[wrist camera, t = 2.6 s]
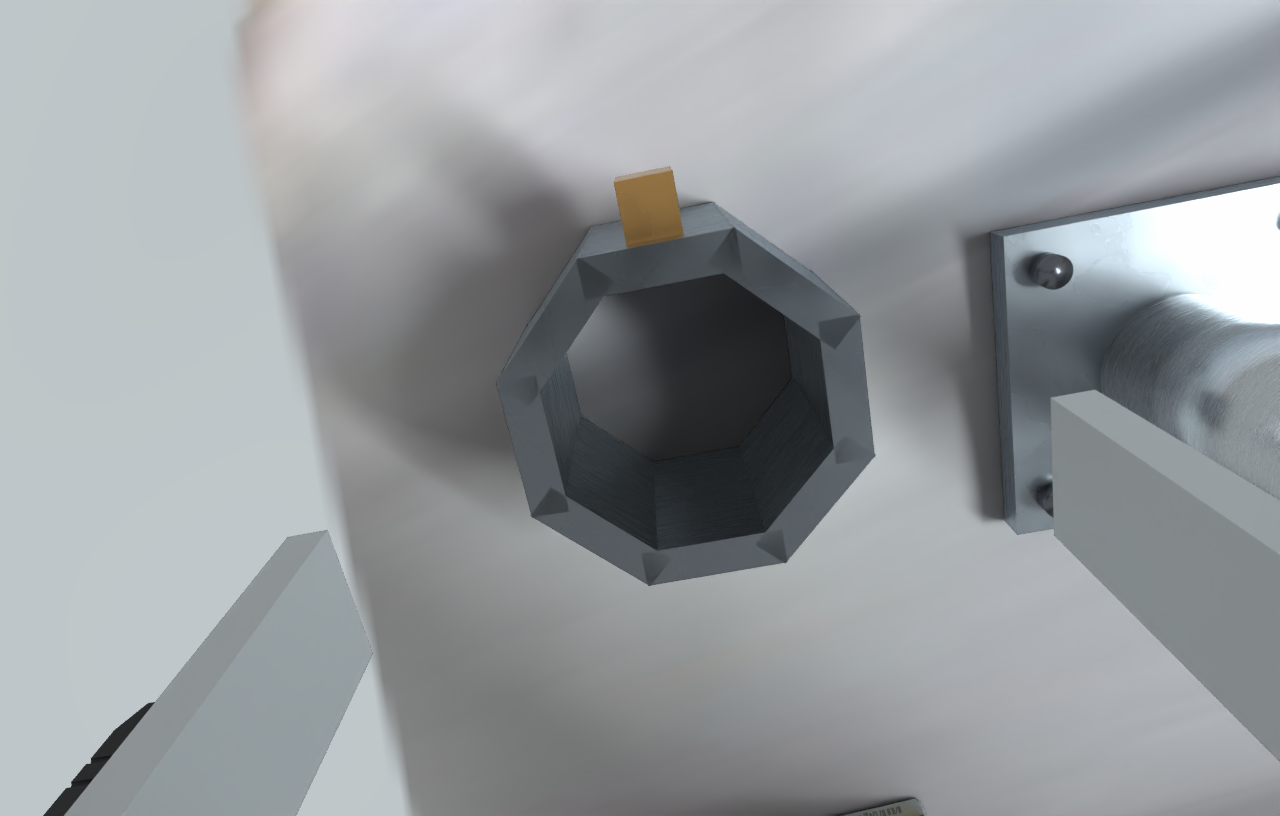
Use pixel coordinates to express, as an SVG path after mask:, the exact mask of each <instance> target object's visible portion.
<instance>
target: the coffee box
mask: <svg viewBox="0 0 1280 816" xmlns="http://www.w3.org/2000/svg"><path fill="white" fill-rule="evenodd" d="M842 816H926V813H925V810H924V807H923V805H922V803H921V802H920V801H919V800H916V799H911V800H907V801H902V802H898V803H894V804H890V805H886V806H881V807H877V808H873V809H868V810H864V811H860V812H855V813H851V814H846V815H842Z"/></svg>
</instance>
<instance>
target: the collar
mask: <svg viewBox="0 0 1280 816" xmlns="http://www.w3.org/2000/svg"><path fill="white" fill-rule="evenodd" d="M614 186H615V191H616V196H617V201H618V206H619V211H620V216H621V220H620V221H615V222H610V223H605V224H600V225H595V226H593V225H592V226H590V229H589V231H588V232H587V234H586V236H585V237H584V239H583V240H582V242H581V243H580V245H579V246H578V248H577V250H576V251H575V253H574V254H573V256H572V257H571V259H570V260H569V262H568V264H567V265H566V267H565V268H564V270H563V271H562V273H561V274H560V276H559V278H558V279H557V281H556V282H555V284H554V285H553V287H552V288H551V290H550V292H549V293H548V295H547V296H546V298H545V299H544V301H543V302H542V304H541V306H540V307H539V309H538V310H537V312H536V313H535V315H534V316H533V318H532V320H531V321H530V323H529V324H527V326H526V328H525V330H524V332H523V334H522V336H521V337H520V339H519V341H518V343H517V345H516V347H515V349H514V350H513V352H512V354H511V356H510V358H509V360H508V362H507V363H506V365H505V367H504V369H503V371H502V373H501V375H500V376H499V378H498V380H497V382H496V386H497V388H498V392H499V395H500V399H501V403H502V407H503V410H504V414H505V418H506V422H507V425H508V429H509V433H510V437H511V440H512V444H513V448H514V451H515V455H516V459H517V463H518V466H519V470H520V474H521V478H522V481H523V485H524V489H525V493H526V496H527V500H528V504H529V508H530V511H531V516H532V518H535V519H537V520H538V521H540V522H542V523H543V524H545V525H547V526H549V527H550V528H552V529H554V530H555V531H557V532H559V533H561V534H562V535H564V536H566V537H567V538H569V539H571V540H572V541H574V542H576V543H578V544H579V545H581V546H583V547H584V548H586V549H588V550H589V551H591V552H593V553H595V554H596V555H598V556H600V557H601V558H603V559H605V560H607V561H608V562H610V563H612V564H613V565H615V566H617V567H618V568H620V569H622V570H624V571H625V572H627V573H629V574H630V575H632V576H634V577H636V578H637V579H639V580H641V581H642V582H644V583H646V584H647V585H648V586H651V585H656V584H662V583H667V582H673V581H679V580H685V579H691V578H697V577H703V576H709V575H715V574H721V573H726V572H732V571H738V570H744V569H750V568H756V567H762V566H768V565H774V564H779V563H786V562H787V561H788V559H789V558H790V557H791V556H792V555H793V553H794V552H795V551H796V550H797V549H798V547H799V546H800V545H801V544H802V543H803V541H804V540H805V539H806V538H807V537H808V536H809V534H810V533H811V532H812V531H813V530H814V528H815V527H816V526H817V525H818V524H819V522H820V521H821V520H822V519H823V518H824V516H825V515H826V514H827V513H828V512H829V510H830V509H831V508H832V507H833V506H834V504H835V503H836V502H837V501H838V500H839V498H840V497H841V496H842V495H843V494H844V492H845V491H846V490H847V489H848V488H849V486H850V485H851V484H852V483H853V482H854V480H855V479H856V478H857V477H858V476H859V474H860V473H861V472H862V471H863V470H864V468H865V467H866V466H867V465H868V464H869V462H870V461H871V460H872V459H873V458H874V457H875V453H874V445H873V436H872V426H871V417H870V408H869V398H868V389H867V380H866V371H865V361H864V352H863V343H862V333H861V324H860V317H861V316H860V315H859V313H857V312H856V311H855V310H854V309H853V308H852V307H851V306H850V305H849V304H848V303H846V302H845V301H844V300H843V299H842V298H841V297H840V296H839V295H838V294H837V293H835V292H834V291H833V290H832V289H831V288H830V287H829V286H828V285H827V284H826V283H824V282H823V281H822V280H821V279H820V278H819V277H818V276H817V275H816V274H814V273H813V272H812V271H811V270H809V269H807V268H806V267H804V266H803V265H801V264H800V263H799V262H797V261H796V260H794V259H793V258H792V257H790V256H789V255H787V254H786V253H784V252H783V251H782V250H780V249H779V248H777V247H776V246H775V245H773V244H772V243H770V242H769V241H767V240H766V239H765V238H763V237H762V236H760V235H759V234H758V233H756V232H755V231H753V230H752V229H750V228H749V227H748V226H746V225H745V224H743V223H742V222H740V221H739V220H738V219H736V218H735V217H733V216H732V215H731V214H729V213H728V212H726V211H725V210H723V209H722V208H721V207H719V206H718V205H716V204H715V202H711V203H705V204H700V205H695V206H690V207H685V208H680V209H679V205H678V199H677V193H676V188H675V182H674V176H673V171H672V169H671V167H670V166H669V167H664V168H659V169H654V170H649V171H644V172H639V173H634V174H629V175H624V176H619V177H616V178H615V180H614ZM723 273H724V274H725V275H727V276H728V277H730V278H731V279H733V280H734V281H735V282H737V283H738V284H740V285H741V286H743V287H744V288H746V289H747V290H749V291H750V292H751V293H753V294H754V295H756V296H757V297H759V298H760V299H762V300H763V301H765V302H766V303H767V304H769V305H770V306H772V307H773V308H775V309H776V310H778V311H779V312H781V313H782V314H784V319H785V327H786V334H787V341H788V348H789V355H790V362H791V370H792V377H793V378H792V379H791V380H790V381H789V383H788V384H787V385H786V387H785V388H784V389H783V391H782V392H781V393H780V394H779V396H778V397H777V398H776V400H775V401H774V402H773V403H772V405H771V406H770V407H769V409H768V410H767V411H766V413H765V414H764V415H763V416H762V418H761V419H760V420H759V422H758V423H757V424H756V426H755V427H754V428H753V429H752V431H751V432H750V433H749V435H748V436H747V437H746V439H745V440H744V441H743V442H742V444H741V445H740V446H738V447H732V448H727V449H721V450H716V451H710V452H704V453H699V454H693V455H688V456H682V457H677V458H671V459H665V460H660V461H652V460H651V459H649V458H647V457H646V456H644V455H643V454H641V453H639V452H638V451H636V450H635V449H633V448H631V447H630V446H628V445H626V444H625V443H623V442H622V441H620V440H618V439H617V438H615V437H614V436H612V435H610V434H609V433H607V432H606V431H604V430H602V429H601V428H599V427H598V426H596V425H594V424H593V423H591V422H589V421H588V420H586V419H585V418H583V417H581V413H580V409H579V405H578V400H577V396H576V392H575V388H574V383H573V379H572V375H571V371H570V366H569V362H568V358H567V353H566V352H567V350H568V349H569V347H570V346H571V344H572V343H573V341H574V340H575V338H576V337H577V335H578V334H579V332H580V331H581V329H582V328H583V326H584V325H585V323H586V322H587V320H588V319H589V317H590V316H591V314H592V313H593V311H594V310H595V308H596V307H597V305H598V304H599V302H600V301H601V299H602V298H603V297H604V296H609V295H614V294H620V293H625V292H630V291H635V290H640V289H645V288H651V287H656V286H661V285H666V284H671V283H676V282H682V281H687V280H692V279H697V278H702V277H707V276H713V275H718V274H723Z"/></svg>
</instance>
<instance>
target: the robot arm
mask: <svg viewBox="0 0 1280 816" xmlns="http://www.w3.org/2000/svg"><path fill="white" fill-rule="evenodd" d="M1051 433H1052V473H1053V514H1054V536H1055V537H1056V538H1057V539H1058V540H1059V541H1060V542H1061V543H1062V544H1063V545H1064V546H1065V547H1066V548H1067V549H1068V550H1069V551H1070V552H1071V553H1072V554H1073V555H1074V556H1075V557H1076V558H1077V559H1078V560H1079V561H1080V562H1081V563H1082V564H1083V565H1084V566H1085V567H1086V568H1087V569H1088V570H1089V571H1090V572H1091V573H1092V574H1093V575H1094V576H1095V577H1096V578H1097V579H1098V580H1099V581H1100V582H1101V583H1102V584H1103V585H1104V586H1105V587H1106V588H1107V589H1108V590H1109V591H1110V592H1111V593H1112V594H1113V595H1114V596H1115V597H1116V598H1117V599H1118V600H1119V601H1120V602H1121V603H1122V604H1123V605H1124V606H1125V607H1126V608H1127V609H1128V610H1129V611H1130V612H1131V613H1132V614H1133V615H1134V616H1135V617H1136V618H1137V619H1138V620H1139V621H1140V622H1141V623H1142V624H1143V625H1144V626H1145V627H1146V628H1147V629H1148V630H1149V631H1150V632H1151V633H1152V634H1153V635H1154V636H1155V637H1156V638H1157V639H1158V640H1159V641H1160V642H1161V643H1162V644H1163V645H1164V646H1165V647H1166V648H1167V649H1168V650H1169V651H1170V652H1171V653H1172V654H1173V655H1174V656H1175V657H1176V658H1177V659H1178V660H1179V661H1180V662H1181V663H1182V664H1183V665H1184V666H1185V667H1186V668H1187V669H1188V670H1189V671H1190V672H1191V673H1192V674H1193V675H1194V676H1195V677H1196V678H1197V679H1198V680H1199V681H1200V682H1201V683H1202V684H1203V685H1204V686H1205V687H1206V688H1207V689H1208V690H1209V691H1210V692H1211V693H1212V694H1213V695H1214V696H1215V697H1216V698H1217V699H1218V700H1219V701H1220V702H1221V703H1222V704H1223V705H1224V706H1225V707H1226V708H1227V709H1228V710H1229V711H1230V712H1231V713H1232V714H1233V715H1234V716H1235V717H1236V718H1237V719H1238V720H1239V721H1240V722H1241V723H1242V724H1243V725H1244V726H1245V727H1246V728H1247V729H1248V730H1249V731H1250V732H1251V733H1252V734H1253V735H1254V736H1255V737H1256V738H1257V739H1258V740H1259V741H1260V742H1261V743H1262V744H1263V745H1264V746H1265V747H1266V748H1267V749H1268V750H1269V751H1270V752H1271V753H1272V754H1273V755H1274V756H1275V757H1276V758H1277V759H1278V760H1279V761H1280V500H1278V499H1276V498H1275V497H1273V496H1271V495H1270V494H1268V493H1266V492H1265V491H1263V490H1261V489H1260V488H1258V487H1256V486H1255V485H1253V484H1251V483H1250V482H1248V481H1246V480H1245V479H1243V478H1241V477H1240V476H1238V475H1236V474H1235V473H1233V472H1231V471H1230V470H1228V469H1226V468H1225V467H1223V466H1221V465H1220V464H1218V463H1216V462H1215V461H1213V460H1211V459H1210V458H1208V457H1206V456H1205V455H1203V454H1201V453H1200V452H1198V451H1196V450H1195V449H1193V448H1191V447H1190V446H1188V445H1186V444H1185V443H1183V442H1181V441H1180V440H1178V439H1176V438H1175V437H1173V436H1172V435H1170V434H1168V433H1167V432H1165V431H1163V430H1162V429H1160V428H1158V427H1157V426H1155V425H1153V424H1152V423H1150V422H1148V421H1147V420H1145V419H1143V418H1142V417H1140V416H1138V415H1137V414H1135V413H1133V412H1132V411H1130V410H1128V409H1127V408H1125V407H1123V406H1122V405H1120V404H1118V403H1117V402H1115V401H1113V400H1112V399H1110V398H1108V397H1107V396H1105V395H1103V394H1102V393H1100V392H1098V391H1097V390H1090V391H1084V392H1079V393H1074V394H1068V395H1063V396H1057V397H1052V398H1051ZM372 654H373V652H372V650H371V647H370V644H369V641H368V639H367V636H366V633H365V631H364V628H363V625H362V622H361V620H360V617H359V614H358V612H357V609H356V606H355V603H354V601H353V598H352V595H351V593H350V590H349V587H348V584H347V582H346V579H345V576H344V574H343V571H342V568H341V565H340V563H339V560H338V557H337V554H336V552H335V549H334V546H333V544H332V541H331V538H330V535H329V533H328V530H325V531H319V532H314V533H309V534H303V535H297V536H292V537H288V538H287V539H286V540H285V541H284V542H283V543H282V545H281V546H280V547H279V549H278V550H277V551H276V552H275V553H274V555H273V556H272V557H271V559H270V560H269V561H268V562H267V563H266V565H265V566H264V567H263V568H262V570H261V571H260V572H259V573H258V575H257V576H256V577H255V578H254V580H253V581H252V582H251V584H250V585H249V586H248V587H247V588H246V590H245V591H244V592H243V593H242V595H241V596H240V597H239V598H238V600H237V601H236V602H235V603H234V605H233V606H232V607H231V608H230V610H229V611H228V612H227V613H226V614H225V616H224V617H223V618H222V619H221V621H220V622H219V623H218V624H217V626H216V627H215V628H214V629H213V631H212V632H211V633H210V634H209V636H208V637H207V638H206V639H205V641H204V642H203V643H202V644H201V646H200V647H199V648H198V649H197V651H196V652H195V653H194V654H193V656H192V657H191V658H190V659H189V661H188V662H187V663H186V664H185V666H184V667H183V668H182V669H181V671H180V672H179V673H178V674H177V676H176V677H175V678H174V679H173V681H172V682H171V683H170V684H169V685H168V687H167V688H166V689H165V690H164V692H163V693H162V694H161V696H160V697H159V698H158V699H157V700H156V702H153V703H148V704H147V705H145V706H144V707H143V708H142V709H140V710H139V711H138V712H137V713H135V714H134V715H133V716H132V717H130V718H129V719H128V720H127V721H125V722H124V723H123V724H122V725H120V726H119V727H118V728H117V729H115V730H114V731H113V733H112V734H111V735H110V736H109V737H108V739H107V740H106V741H105V742H104V743H103V745H102V746H101V747H100V748H99V749H98V751H97V752H96V753H95V754H94V755H93V757H92V758H91V764H86V765H85V766H84V767H83V769H82V770H81V771H80V772H79V773H78V775H77V776H76V777H75V778H74V779H73V781H72V782H71V783H72V786H71V788H66V789H65V790H64V791H63V793H62V794H61V795H60V796H59V797H58V799H57V800H56V801H55V802H54V803H53V805H52V806H51V807H50V808H49V809H48V811H47V812H46V813H45V814H44V815H43V816H296V815H297V813H298V811H299V808H300V806H301V804H302V802H303V800H304V798H305V795H306V794H307V791H308V789H309V787H310V785H311V783H312V781H313V779H314V777H315V775H316V772H317V770H318V768H319V766H320V764H321V762H322V760H323V758H324V756H325V753H326V751H327V749H328V747H329V745H330V743H331V741H332V739H333V737H334V735H335V732H336V730H337V728H338V726H339V724H340V722H341V720H342V718H343V715H344V713H345V711H346V709H347V707H348V705H349V703H350V701H351V699H352V697H353V694H354V692H355V690H356V688H357V686H358V684H359V682H360V680H361V678H362V675H363V673H364V671H365V669H366V667H367V665H368V663H369V661H370V659H371V656H372Z"/></svg>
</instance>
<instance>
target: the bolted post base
mask: <svg viewBox="0 0 1280 816" xmlns="http://www.w3.org/2000/svg"><path fill="white" fill-rule="evenodd" d="M990 244H991V263H992V283H993V302H994V322H995V341H996V361H997V380H998V400H999V419H1000V439H1001V458H1002V478H1003V497H1004V517H1005V522H1006V523H1007V524H1008V525H1009V526H1010V527H1011V528H1012V530H1013V531H1014V532H1015V533H1016V534H1017V535H1019V534H1025V533H1031V532H1037V531H1043V530H1049V529H1054V514H1053V473H1052V433H1051V398H1052V397H1057V396H1063V395H1068V394H1074V393H1079V392H1084V391H1090V390H1097V391H1098V392H1100V393H1102V394H1103V395H1105V396H1107V397H1108V398H1110V399H1112V400H1113V401H1115V402H1117V403H1118V404H1120V405H1122V406H1123V407H1125V408H1127V409H1128V410H1130V411H1132V412H1133V413H1135V414H1137V415H1138V416H1140V417H1142V418H1143V419H1145V420H1147V421H1148V422H1150V423H1152V424H1153V425H1155V426H1157V427H1158V428H1160V429H1162V430H1163V431H1165V432H1167V433H1168V434H1170V435H1172V436H1173V437H1175V438H1176V439H1178V440H1180V441H1181V442H1183V443H1185V444H1186V445H1188V446H1190V447H1191V448H1193V449H1195V450H1196V451H1198V452H1200V453H1201V454H1203V455H1205V456H1206V457H1208V458H1210V459H1211V460H1213V461H1215V462H1216V463H1218V464H1220V465H1221V466H1223V467H1225V468H1226V469H1228V470H1230V471H1231V472H1233V473H1235V474H1236V475H1238V476H1240V477H1241V478H1243V479H1245V480H1246V481H1248V482H1250V483H1251V484H1253V485H1255V486H1256V487H1258V488H1260V489H1261V490H1263V491H1265V492H1266V493H1268V494H1270V495H1271V496H1273V497H1275V498H1276V499H1278V500H1280V176H1279V177H1274V178H1268V179H1263V180H1258V181H1253V182H1248V183H1243V184H1237V185H1232V186H1227V187H1222V188H1217V189H1211V190H1206V191H1201V192H1196V193H1191V194H1185V195H1180V196H1175V197H1170V198H1165V199H1160V200H1154V201H1149V202H1144V203H1139V204H1134V205H1128V206H1123V207H1118V208H1113V209H1108V210H1102V211H1097V212H1092V213H1087V214H1082V215H1076V216H1071V217H1066V218H1061V219H1056V220H1051V221H1045V222H1040V223H1035V224H1030V225H1025V226H1019V227H1014V228H1009V229H1004V230H999V231H993V232H990Z"/></svg>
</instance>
